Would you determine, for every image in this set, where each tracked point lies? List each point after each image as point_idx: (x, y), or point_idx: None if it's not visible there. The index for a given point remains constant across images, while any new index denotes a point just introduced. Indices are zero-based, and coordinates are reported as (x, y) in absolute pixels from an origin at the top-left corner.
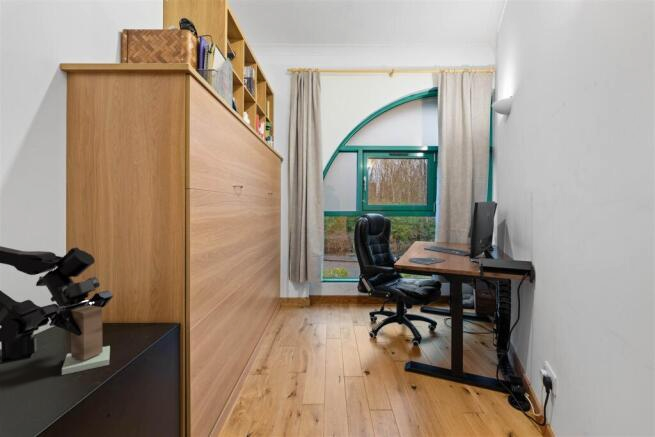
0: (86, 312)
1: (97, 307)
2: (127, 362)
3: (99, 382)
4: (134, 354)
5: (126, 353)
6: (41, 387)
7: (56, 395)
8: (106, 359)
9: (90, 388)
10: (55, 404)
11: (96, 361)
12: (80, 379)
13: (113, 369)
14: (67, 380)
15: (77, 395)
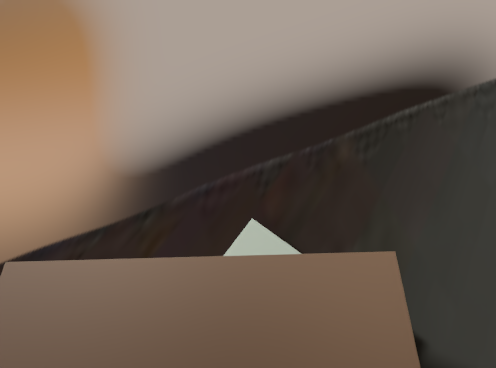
0: (323, 259)
1: (13, 354)
2: (215, 186)
3: (343, 146)
4: (158, 219)
5: (158, 257)
6: (486, 304)
7: (465, 189)
8: (255, 227)
9: (378, 137)
10: (484, 141)
11: (284, 249)
12: (366, 221)
13: (269, 183)
14: (398, 260)
15: (421, 133)
